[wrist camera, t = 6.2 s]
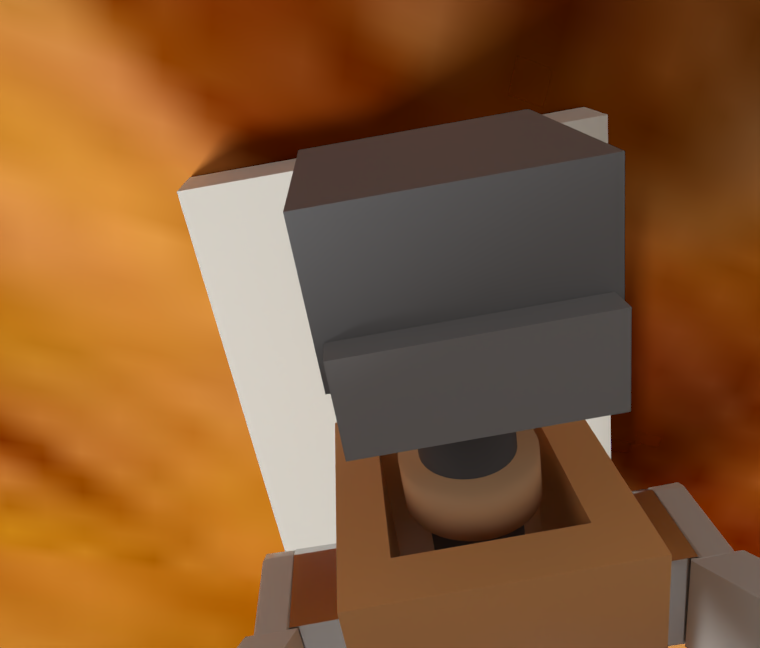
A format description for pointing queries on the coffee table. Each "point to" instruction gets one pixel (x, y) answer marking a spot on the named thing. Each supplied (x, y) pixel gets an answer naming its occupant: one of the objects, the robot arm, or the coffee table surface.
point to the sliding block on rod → (422, 311)
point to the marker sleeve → (504, 562)
